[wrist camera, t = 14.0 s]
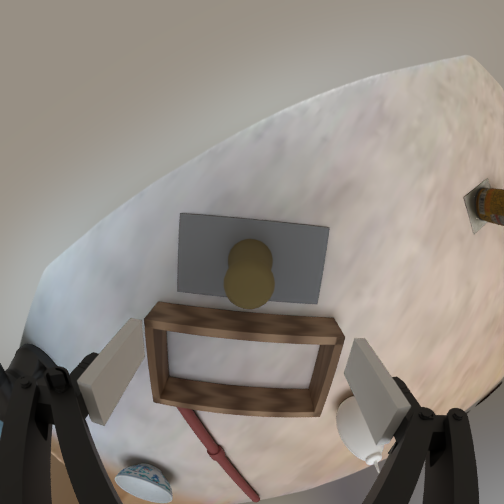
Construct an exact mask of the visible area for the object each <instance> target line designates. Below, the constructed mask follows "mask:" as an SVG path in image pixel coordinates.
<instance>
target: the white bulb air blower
mask: <svg viewBox="0 0 504 504" xmlns="http://www.w3.org/2000/svg"><path fill="white" fill-rule="evenodd" d="M336 423H337V429H338V432H339V435H340V437H341V439H342V441H343V443H344V444H345V446H346V447H347V448H348V449H349V450H350V451H351V452H352V453H353V454H354V455H355V456H356V457H358V458H360V459H361V460H364V461H366V463H367V464H368V465H372V464H374V465H375V467H376V469H377V471H378V473H380V471H379V467H378V464H377V462H379V461H380V460H381V459H382V455H381V453H382V451H383V448H384V444H383V445H377V446H376V444H375V442H374V440H373V437H372V435H371V433H370V430H369V428H368V426H367V424H366V421H365V419H364V417H363V414H362V412H361V410H360V408H359V406H358V403H357V401H356V399H355V397H354V396H352V397H349V398H347V399H346V400H345V401H343V402H342V403H341V404H340V406H339V408H338V411H337V416H336Z"/></svg>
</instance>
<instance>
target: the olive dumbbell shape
mask: <svg viewBox="0 0 504 504" xmlns="http://www.w3.org/2000/svg"><path fill="white" fill-rule="evenodd" d="M272 264H273V257H272V253H271V251H270V249H269V248H268V246H266V245H265V244H264V243H263V242H261V241H259V240H256V239H245V240H241V241H240V242H238V243H236V244H235V245H234V246H233V248H232V249H231V250H230V253H229V255H228V267H229V269H228V270H227V272H226V275H225V277H224V286H223V287H224V290H225V293H226V296H227V297H228V299H229V300H230V301H231V302H232V303H233V304H235V305H236V306H238V307H240V308H243V309H254V308H259V307H261V306H262V305H264V304H266V302H267V301H268V300H269V299H270V298H271V296H272V294H273V292H274V288H275V280H274V276H273V273H272V271H271V269H272Z"/></svg>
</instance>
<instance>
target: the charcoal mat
mask: <svg viewBox="0 0 504 504" xmlns="http://www.w3.org/2000/svg"><path fill="white" fill-rule="evenodd" d="M328 236H329V228H328V227H320V226H312V225H303V224H294V223H285V222H275V221H265V220H255V219H245V218H234V217H222V216H211V215H198V214H185V213H180V223H179V244H178V279H177V291H178V292H186V293H194V294H203V295H212V296H221V297H227V296H226V293H225V290H224V287H223V286H224V277H225V275H226V272H227V270H228V269H229V267H228V255H229V253H230V250H231V249H232V248H233V246H234V245H235V244H236V243H238V242H240V241H241V240H245V239H256V240H259V241H261V242H263V243H264V244H265V245H266V246H268V248H269V249H270V251H271V253H272V257H273V264H272V269H271V271H272V273H273V276H274V280H275V288H274V292H273V294H272V296H271V298H270V299H269V300H268V301H276V302H289V303H303V304H317V303H318V298H319V292H320V286H321V281H322V275H323V269H324V263H325V256H326V250H327V243H328Z"/></svg>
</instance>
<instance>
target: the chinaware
mask: <svg viewBox="0 0 504 504" xmlns="http://www.w3.org/2000/svg"><path fill="white" fill-rule="evenodd" d="M115 481H116V483H117V484H118V485H119V486H120V487H121V488H122V489H123V490H125V491H126V492H128V493H130V494H132V495H134V496H136V497H138V498H141V499H144V500H147V501H151V502H157V503H168V502H170V501H172V489H171V486H170V484H169V482H168V481H167V479H166V478H165V477H164V476H163V475H162V472H161V471H160V470H159V469H158V468H156V467H154V466H152V465H149V464H145V463H140V464H138V465H135V466H130V467H127V468H125V469H123V470H122V471H120V472H119V473H118V475H117V476H116V477H115Z"/></svg>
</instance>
